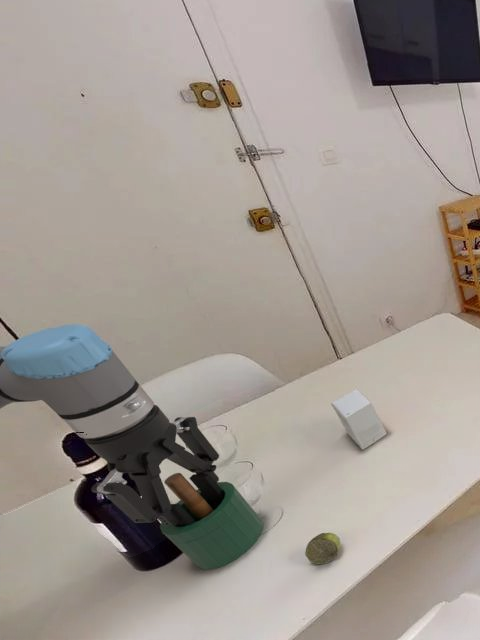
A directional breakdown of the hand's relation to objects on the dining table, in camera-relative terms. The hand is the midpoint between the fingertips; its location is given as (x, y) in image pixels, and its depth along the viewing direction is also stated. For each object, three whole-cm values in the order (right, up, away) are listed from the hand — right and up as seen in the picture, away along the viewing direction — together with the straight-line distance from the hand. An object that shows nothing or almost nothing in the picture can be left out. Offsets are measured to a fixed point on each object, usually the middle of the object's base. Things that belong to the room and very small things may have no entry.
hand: (204, 513), depth 72 cm
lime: (+20, -9, +2) cm, 22 cm away
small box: (+12, +4, +26) cm, 28 cm away
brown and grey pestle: (0, -7, +4) cm, 8 cm away
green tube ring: (0, -8, +4) cm, 9 cm away
